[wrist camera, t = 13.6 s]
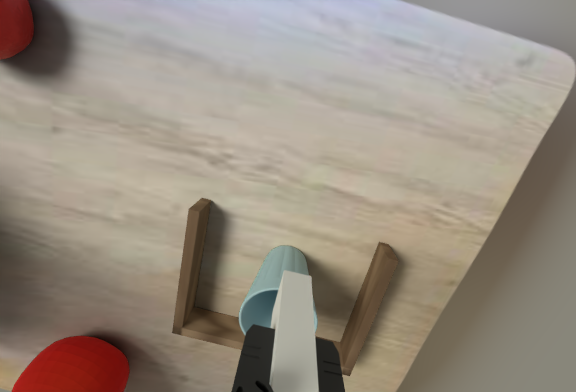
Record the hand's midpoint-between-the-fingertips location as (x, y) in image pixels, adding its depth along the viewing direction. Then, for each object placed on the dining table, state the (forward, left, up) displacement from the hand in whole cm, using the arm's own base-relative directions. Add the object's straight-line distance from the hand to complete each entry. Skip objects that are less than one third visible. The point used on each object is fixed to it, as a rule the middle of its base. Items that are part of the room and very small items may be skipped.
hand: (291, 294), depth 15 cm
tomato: (-24, -34, -20) cm, 46 cm away
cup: (+1, -10, -20) cm, 22 cm away
